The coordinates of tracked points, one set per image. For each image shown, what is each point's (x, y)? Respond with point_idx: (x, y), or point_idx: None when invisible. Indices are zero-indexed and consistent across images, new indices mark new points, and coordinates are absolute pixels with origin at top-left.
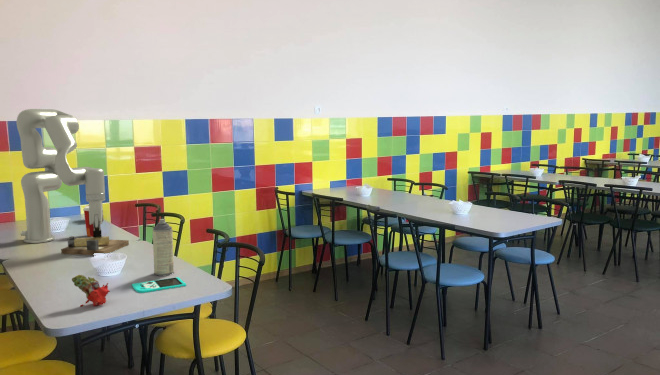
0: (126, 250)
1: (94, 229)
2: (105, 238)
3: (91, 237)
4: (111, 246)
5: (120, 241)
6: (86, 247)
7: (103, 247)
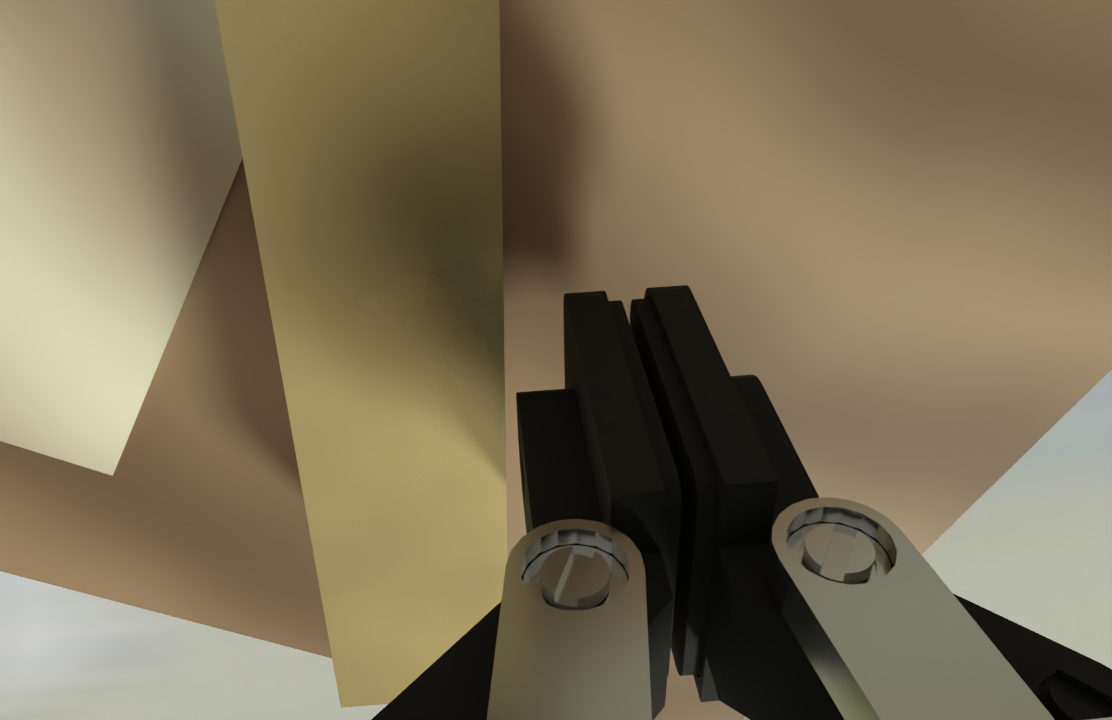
0: (255, 695)
1: (501, 616)
2: (331, 625)
3: (464, 293)
4: (226, 585)
5: (675, 670)
6: (167, 36)
7: (106, 463)
